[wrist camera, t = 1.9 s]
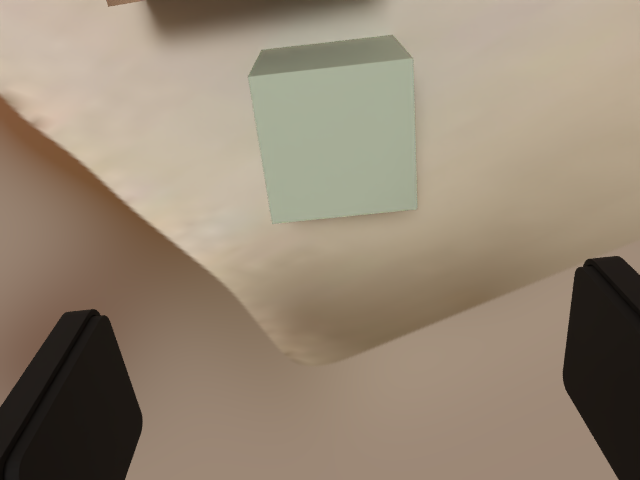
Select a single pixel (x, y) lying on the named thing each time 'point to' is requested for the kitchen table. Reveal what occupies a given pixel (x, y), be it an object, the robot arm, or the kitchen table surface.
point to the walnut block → (120, 2)
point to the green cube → (336, 128)
